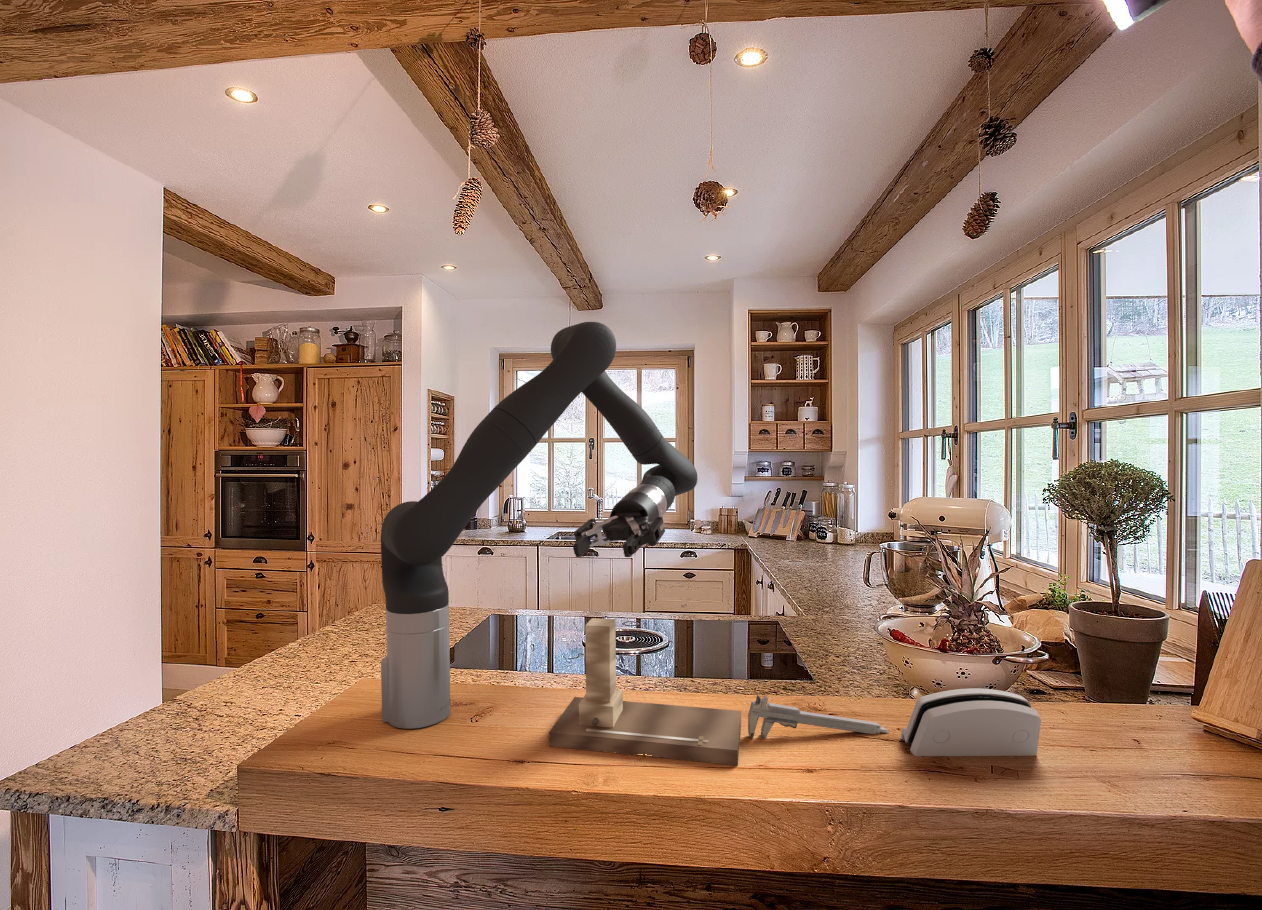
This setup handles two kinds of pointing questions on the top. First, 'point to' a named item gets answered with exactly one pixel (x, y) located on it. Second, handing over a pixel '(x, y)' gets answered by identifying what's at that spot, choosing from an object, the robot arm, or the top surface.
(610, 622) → the beige tall block
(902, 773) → the top surface
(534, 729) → the top surface
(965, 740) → the grey toaster
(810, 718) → the caliper
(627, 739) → the board
